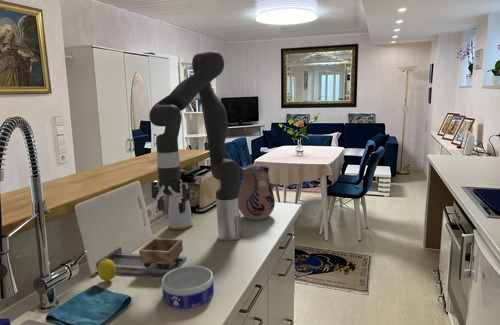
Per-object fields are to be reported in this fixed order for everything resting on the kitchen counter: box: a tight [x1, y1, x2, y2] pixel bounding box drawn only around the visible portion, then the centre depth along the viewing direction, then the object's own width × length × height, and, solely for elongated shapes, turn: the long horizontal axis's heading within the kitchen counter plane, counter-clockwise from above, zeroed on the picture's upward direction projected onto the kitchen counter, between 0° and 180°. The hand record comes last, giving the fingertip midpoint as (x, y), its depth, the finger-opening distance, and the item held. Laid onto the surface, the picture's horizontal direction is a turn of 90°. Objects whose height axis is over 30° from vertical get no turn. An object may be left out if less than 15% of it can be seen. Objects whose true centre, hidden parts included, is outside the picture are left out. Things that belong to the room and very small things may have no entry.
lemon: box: [97, 259, 117, 282], centre depth 123 cm, size 6×6×8 cm
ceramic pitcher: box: [238, 163, 275, 221], centre depth 178 cm, size 18×21×25 cm
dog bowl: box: [161, 265, 215, 310], centre depth 112 cm, size 15×15×6 cm
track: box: [95, 246, 187, 278], centre depth 133 cm, size 28×14×3 cm, turn 78°
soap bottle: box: [167, 169, 194, 231], centre depth 170 cm, size 11×12×26 cm
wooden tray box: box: [138, 237, 184, 269], centre depth 131 cm, size 11×11×6 cm
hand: (171, 211), depth 128 cm, fingers open, 8 cm apart
